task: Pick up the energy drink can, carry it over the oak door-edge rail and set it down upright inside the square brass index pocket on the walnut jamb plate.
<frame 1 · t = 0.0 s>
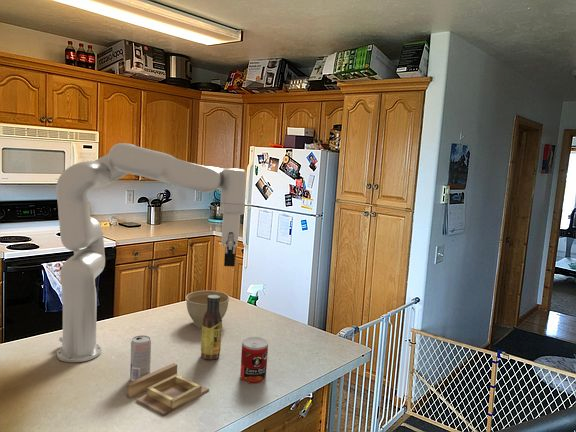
hand: (229, 262, 142), 31 cm above the worktop, tool pointing down, fingers open, 9 cm apart
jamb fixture: (160, 389, 123), on the worktop
energy drink: (140, 379, 128), on the worktop
canned food: (253, 378, 133), on the worktop
sauce bottle: (210, 356, 145), on the worktop
planter bowl: (206, 324, 172), on the worktop
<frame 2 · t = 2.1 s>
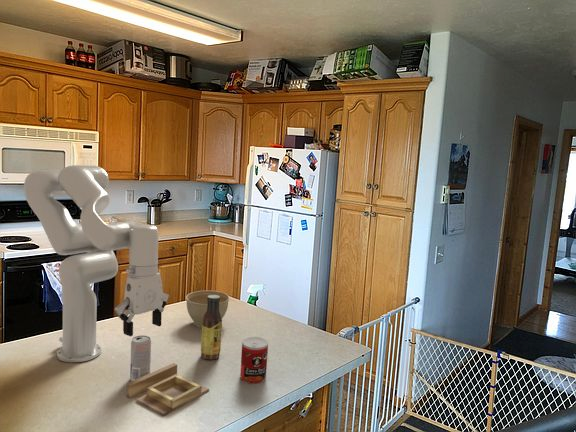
hand: (142, 329, 126), 15 cm above the worktop, tool pointing down, fingers open, 9 cm apart
nothing on the worktop moved.
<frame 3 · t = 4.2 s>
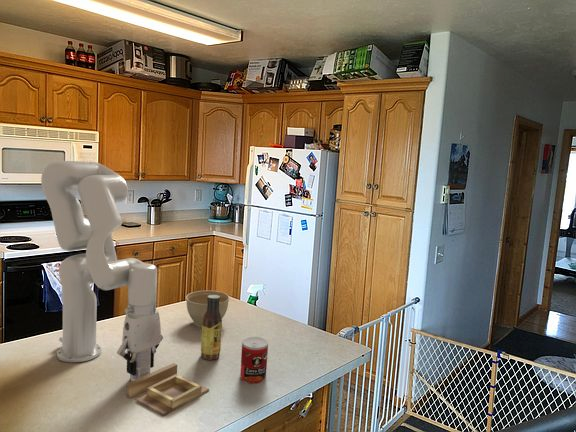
hand: (140, 369, 127), 3 cm above the worktop, tool pointing down, fingers closed on energy drink, 5 cm apart
energy drink: (140, 379, 128), on the worktop, touching gripper
everything else where it was.
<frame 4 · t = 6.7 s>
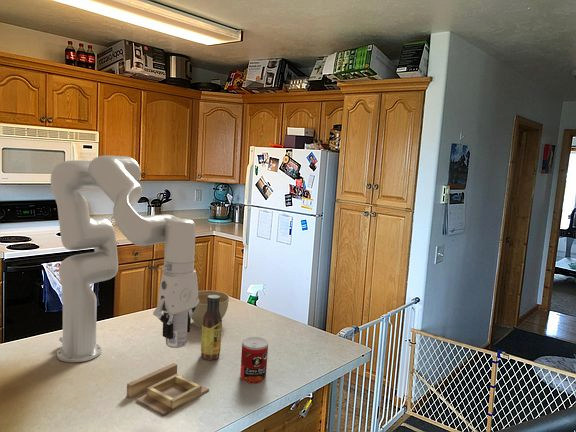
hand: (176, 333, 118), 17 cm above the worktop, tool pointing down, fingers closed on energy drink, 5 cm apart
energy drink: (176, 345, 118), point 14 cm above the worktop, touching gripper
everything else where it was.
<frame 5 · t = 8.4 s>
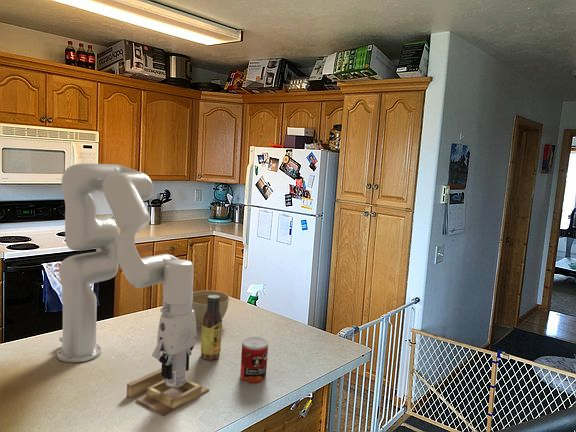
hand: (175, 372, 119), 7 cm above the worktop, tool pointing down, fingers closed on energy drink, 5 cm apart
energy drink: (175, 383, 120), point 4 cm above the worktop, touching gripper
everything else where it was.
when the fingers open (5 cm above the worktop, at t = 9.7 s): energy drink stays where it is, resting on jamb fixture.
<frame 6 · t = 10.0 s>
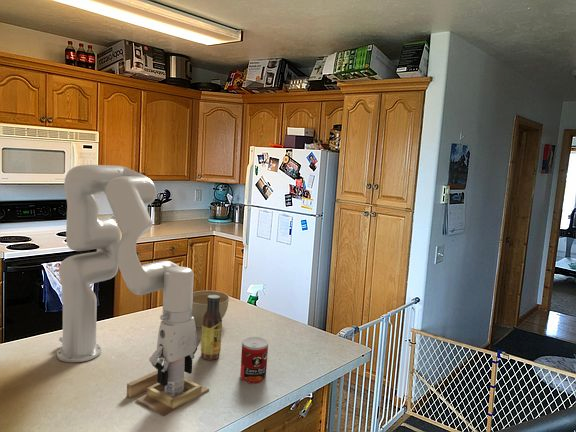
hand: (174, 377, 120), 5 cm above the worktop, tool pointing down, fingers open, 8 cm apart
energy drink: (173, 394, 120), resting on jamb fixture
everything else where it was.
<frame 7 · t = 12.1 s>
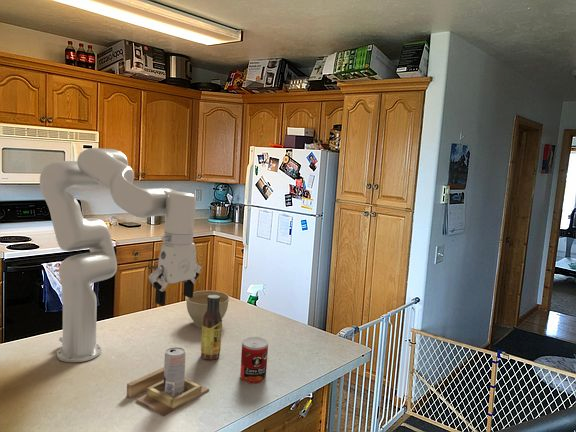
hand: (174, 300, 122), 25 cm above the worktop, tool pointing down, fingers open, 9 cm apart
nothing on the worktop moved.
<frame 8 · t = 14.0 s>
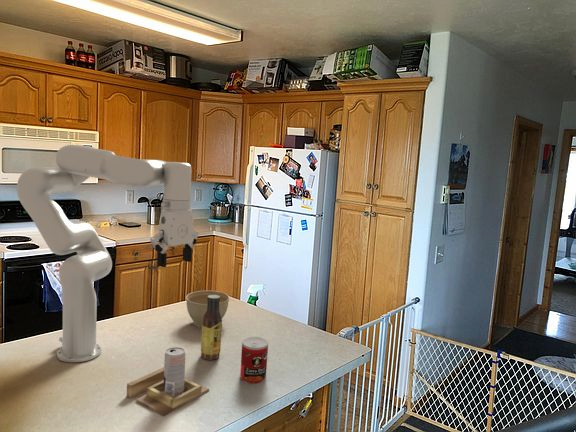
hand: (174, 263, 131), 32 cm above the worktop, tool pointing down, fingers open, 9 cm apart
nothing on the worktop moved.
at the end: energy drink 0.2 cm from the target spot on the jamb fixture, point 0.4 cm above the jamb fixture's base; energy drink tilted 0°; the gripper is holding nothing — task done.
